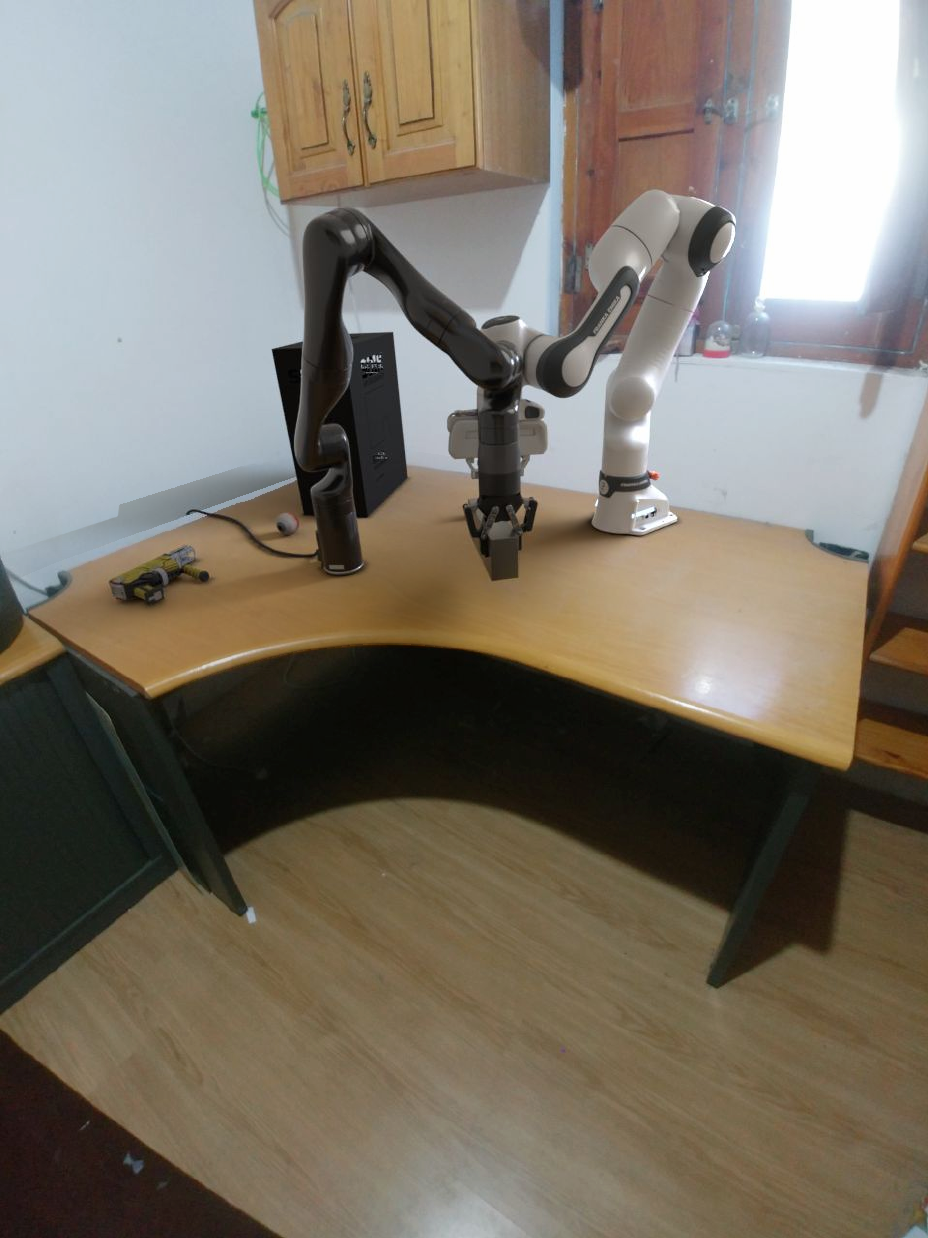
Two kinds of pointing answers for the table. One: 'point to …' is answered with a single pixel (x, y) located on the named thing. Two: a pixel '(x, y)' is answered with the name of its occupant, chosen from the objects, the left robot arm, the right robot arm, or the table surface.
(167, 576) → the toy gun
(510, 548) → the bar
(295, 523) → the eyeball
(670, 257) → the right robot arm
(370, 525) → the table surface
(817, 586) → the table surface
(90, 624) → the table surface
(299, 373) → the cardboard box
